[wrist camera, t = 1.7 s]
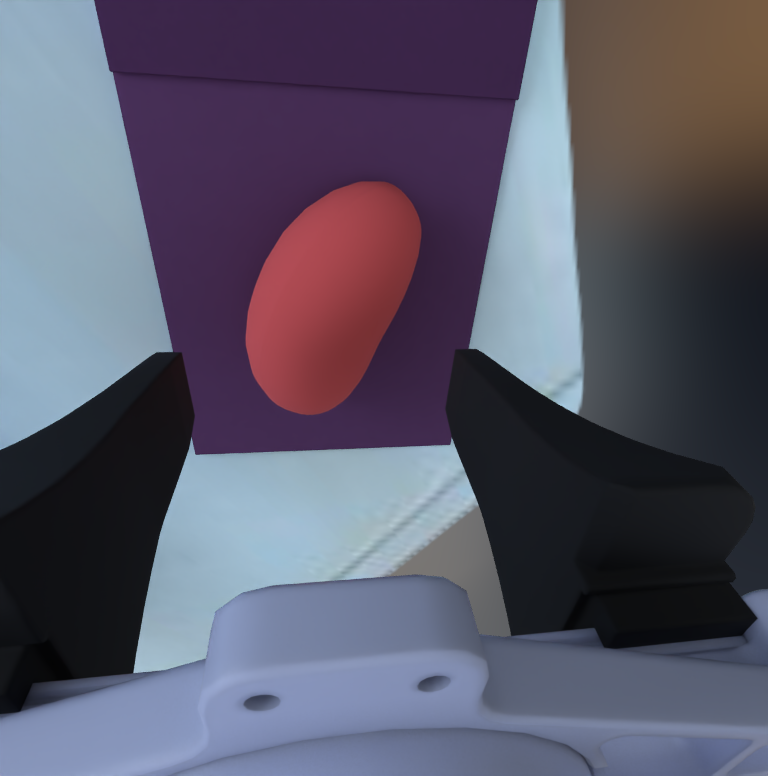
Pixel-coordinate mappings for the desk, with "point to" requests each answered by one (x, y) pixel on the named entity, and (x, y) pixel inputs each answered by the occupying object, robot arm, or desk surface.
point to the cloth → (315, 182)
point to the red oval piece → (331, 294)
